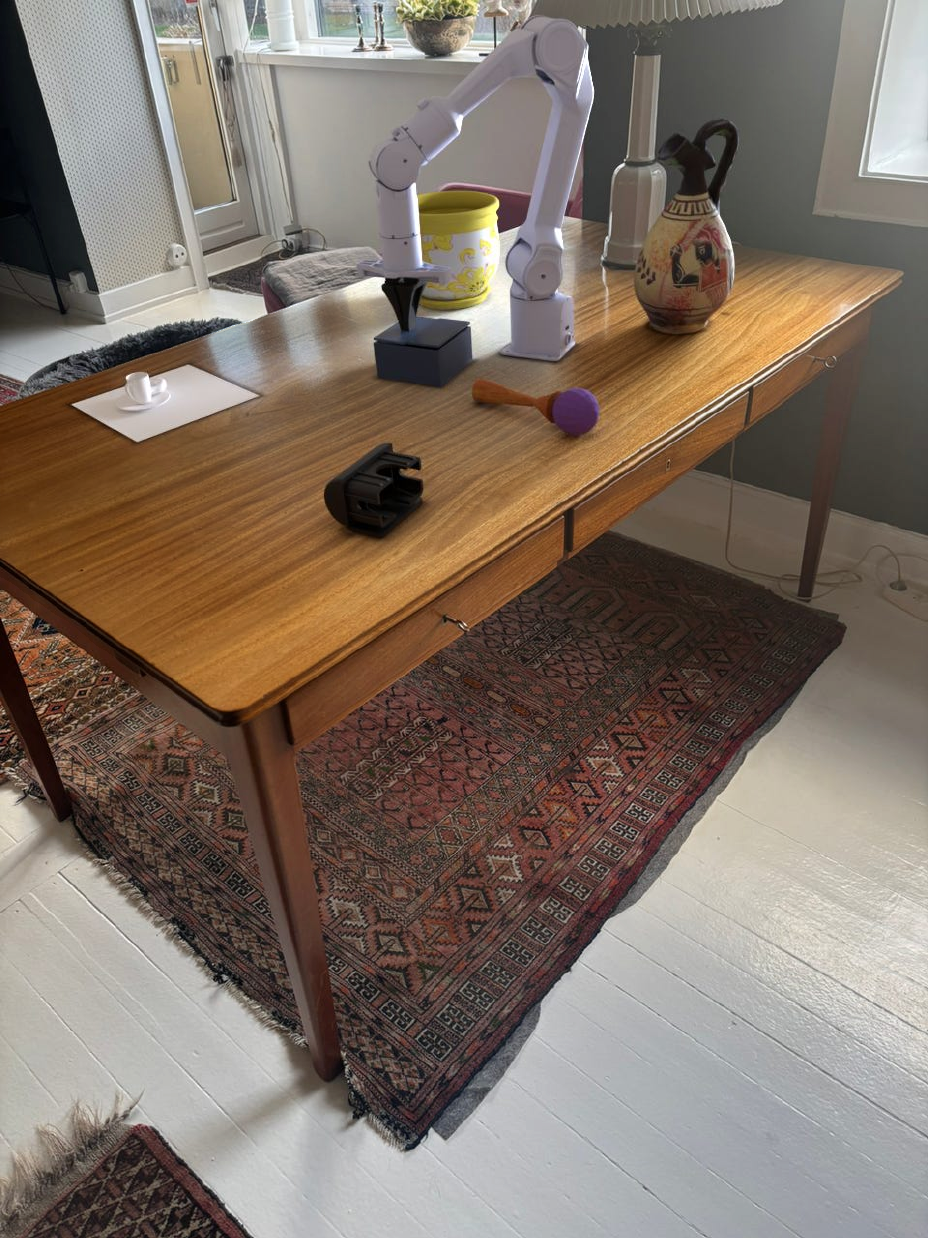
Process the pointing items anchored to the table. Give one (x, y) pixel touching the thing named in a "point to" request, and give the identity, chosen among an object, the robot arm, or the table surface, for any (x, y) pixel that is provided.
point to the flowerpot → (459, 245)
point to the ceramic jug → (689, 238)
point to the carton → (427, 354)
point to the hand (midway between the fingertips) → (408, 328)
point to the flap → (400, 336)
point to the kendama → (546, 405)
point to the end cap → (375, 492)
